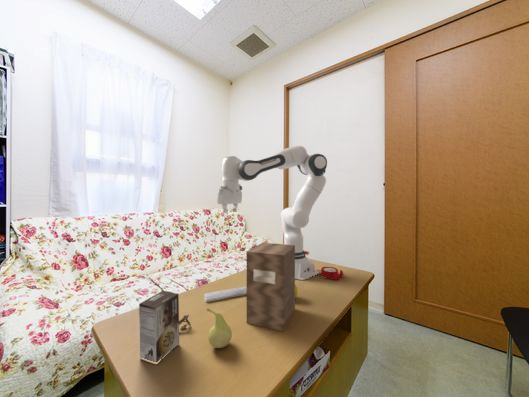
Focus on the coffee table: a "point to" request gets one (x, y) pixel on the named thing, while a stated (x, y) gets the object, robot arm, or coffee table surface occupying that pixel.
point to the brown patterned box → (270, 285)
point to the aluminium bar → (225, 294)
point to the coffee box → (159, 325)
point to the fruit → (219, 332)
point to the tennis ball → (296, 291)
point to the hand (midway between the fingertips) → (230, 212)
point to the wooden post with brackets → (184, 321)
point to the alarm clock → (331, 273)
